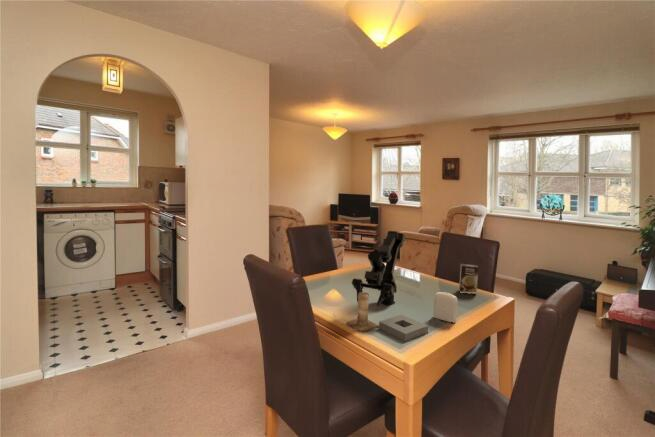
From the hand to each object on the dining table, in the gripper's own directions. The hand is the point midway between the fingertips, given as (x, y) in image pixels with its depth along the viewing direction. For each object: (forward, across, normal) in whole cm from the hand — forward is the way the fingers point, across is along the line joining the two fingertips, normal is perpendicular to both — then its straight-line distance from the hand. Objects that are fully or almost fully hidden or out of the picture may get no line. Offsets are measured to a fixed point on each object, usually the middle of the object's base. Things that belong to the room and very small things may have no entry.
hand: (367, 303), depth 146 cm
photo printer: (-9, +30, +21) cm, 37 cm away
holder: (+6, +16, +5) cm, 18 cm away
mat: (+9, 0, +2) cm, 9 cm away
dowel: (+9, 0, +1) cm, 9 cm away
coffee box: (-44, +34, +56) cm, 79 cm away
